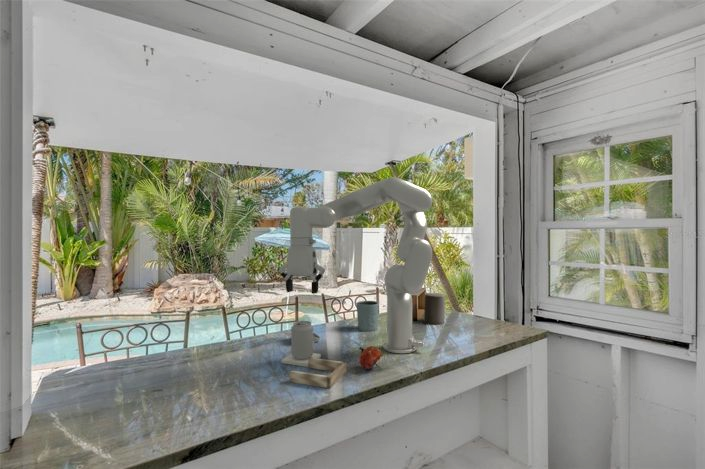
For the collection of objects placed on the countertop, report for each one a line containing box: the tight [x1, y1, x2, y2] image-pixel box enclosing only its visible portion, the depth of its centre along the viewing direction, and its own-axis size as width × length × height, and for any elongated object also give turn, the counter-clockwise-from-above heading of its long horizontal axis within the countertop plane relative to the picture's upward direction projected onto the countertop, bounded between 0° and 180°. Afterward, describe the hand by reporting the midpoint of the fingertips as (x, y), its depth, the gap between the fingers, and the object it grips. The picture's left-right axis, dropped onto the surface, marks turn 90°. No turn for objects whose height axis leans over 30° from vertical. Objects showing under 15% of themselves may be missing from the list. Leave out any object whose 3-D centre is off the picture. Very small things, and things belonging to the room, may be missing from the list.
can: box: [290, 320, 314, 360], centre depth 128 cm, size 8×8×12 cm
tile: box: [280, 352, 322, 368], centre depth 128 cm, size 10×10×1 cm
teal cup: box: [356, 300, 379, 332], centre depth 168 cm, size 10×10×12 cm
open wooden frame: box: [289, 358, 348, 389], centre depth 113 cm, size 13×13×3 cm
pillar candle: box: [423, 291, 446, 326], centre depth 180 cm, size 10×10×15 cm
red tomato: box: [358, 345, 383, 371], centre depth 120 cm, size 7×7×10 cm
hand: (302, 292), depth 128 cm, fingers open, 9 cm apart
